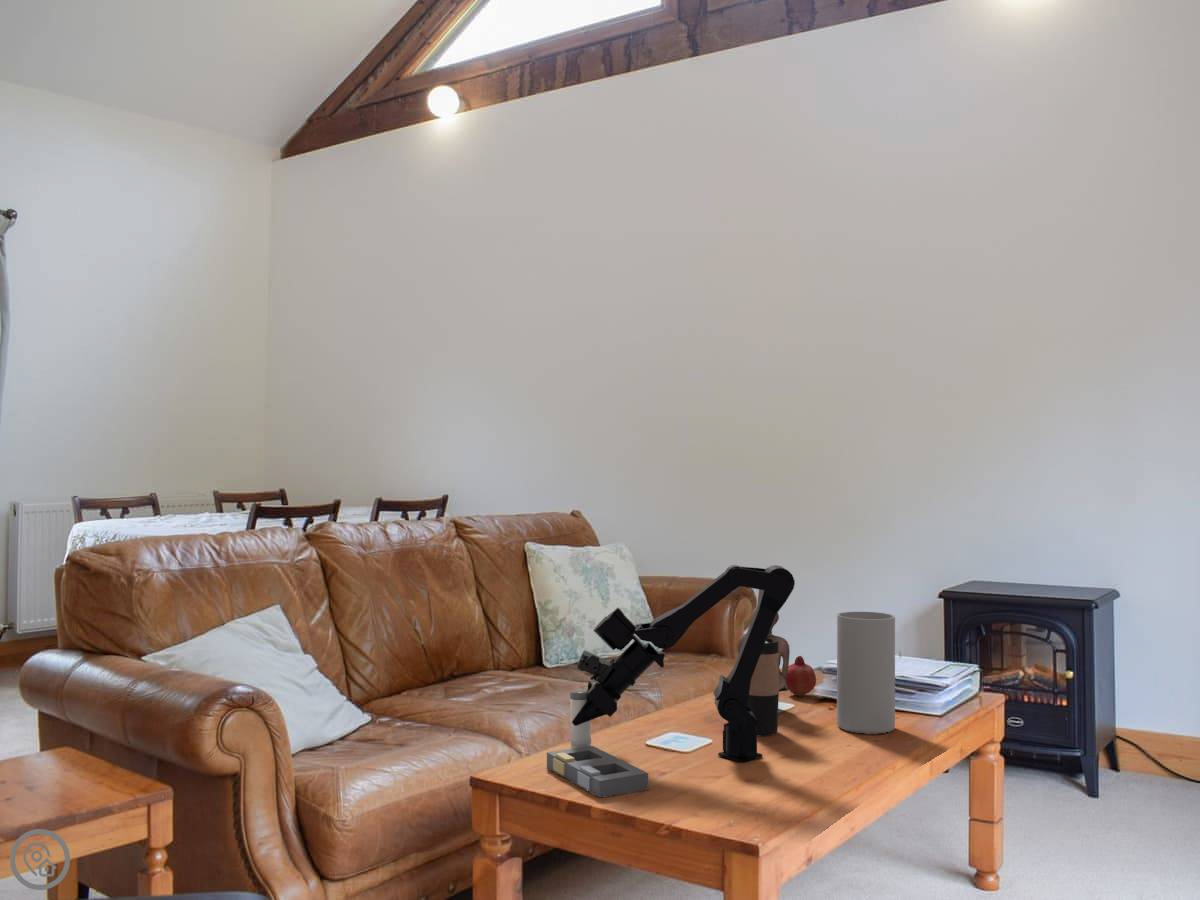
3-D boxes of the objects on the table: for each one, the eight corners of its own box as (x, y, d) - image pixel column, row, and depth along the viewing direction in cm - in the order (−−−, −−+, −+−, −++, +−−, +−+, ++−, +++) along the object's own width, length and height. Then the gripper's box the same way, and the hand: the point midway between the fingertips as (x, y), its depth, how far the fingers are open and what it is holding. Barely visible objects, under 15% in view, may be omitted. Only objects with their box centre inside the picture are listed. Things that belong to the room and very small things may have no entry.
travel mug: (739, 734, 232) (739, 641, 232) (748, 726, 239) (748, 636, 239) (774, 737, 229) (774, 644, 229) (782, 729, 236) (782, 638, 236)
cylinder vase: (874, 719, 245) (874, 610, 246) (906, 732, 234) (906, 618, 234) (826, 723, 241) (826, 612, 242) (856, 737, 230) (856, 620, 230)
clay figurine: (730, 711, 253) (730, 605, 253) (743, 702, 262) (743, 600, 262) (784, 717, 247) (784, 609, 248) (795, 708, 256) (795, 603, 257)
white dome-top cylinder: (595, 754, 214) (594, 692, 214) (579, 758, 212) (578, 694, 212) (582, 750, 217) (582, 688, 217) (566, 754, 215) (565, 691, 215)
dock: (648, 789, 192) (648, 770, 192) (597, 798, 187) (597, 778, 187) (592, 761, 210) (592, 743, 210) (545, 768, 205) (545, 749, 205)
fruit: (819, 699, 266) (819, 659, 267) (786, 699, 266) (786, 659, 266) (812, 692, 275) (812, 653, 275) (780, 692, 274) (780, 653, 274)
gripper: (601, 630, 224) (548, 683, 224) (599, 646, 205) (542, 703, 205) (639, 668, 224) (586, 721, 224) (640, 687, 205) (583, 744, 205)
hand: (574, 721), depth 215 cm, fingers closed on white dome-top cylinder, 4 cm apart
